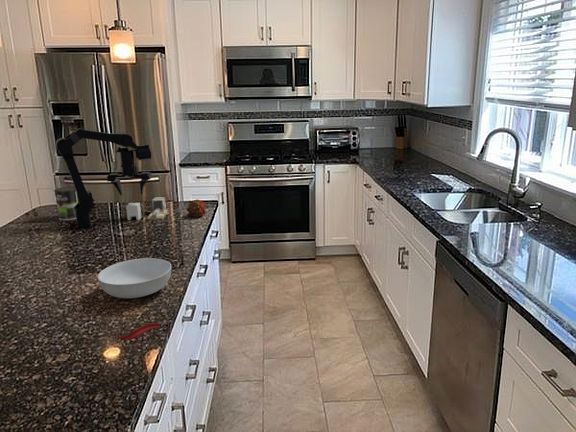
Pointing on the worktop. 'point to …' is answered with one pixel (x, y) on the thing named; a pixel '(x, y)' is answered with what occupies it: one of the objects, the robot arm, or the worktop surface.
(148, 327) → the cayenne pepper
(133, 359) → the worktop surface
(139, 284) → the serving bowl
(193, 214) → the dragon fruit
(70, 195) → the grey green cylinder
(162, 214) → the rail
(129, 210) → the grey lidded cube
